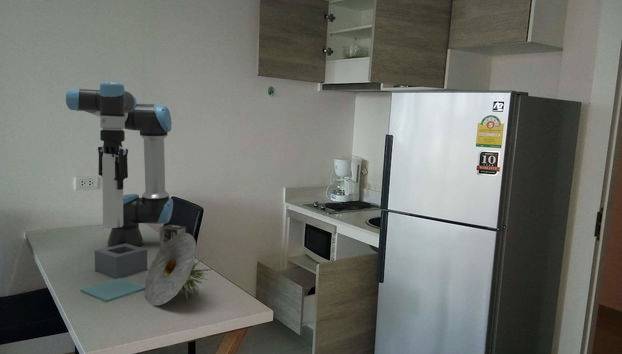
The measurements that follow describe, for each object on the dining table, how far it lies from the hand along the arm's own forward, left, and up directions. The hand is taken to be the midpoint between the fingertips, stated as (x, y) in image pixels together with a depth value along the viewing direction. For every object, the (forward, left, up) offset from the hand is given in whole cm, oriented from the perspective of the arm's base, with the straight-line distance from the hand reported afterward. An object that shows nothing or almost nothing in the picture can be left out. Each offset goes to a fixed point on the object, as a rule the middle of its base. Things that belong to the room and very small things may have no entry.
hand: (113, 197), depth 158 cm
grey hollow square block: (-12, -14, -32) cm, 37 cm away
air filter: (0, 0, -10) cm, 10 cm away
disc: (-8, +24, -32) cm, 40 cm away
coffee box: (-28, -3, -32) cm, 43 cm away
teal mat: (+2, +2, -32) cm, 32 cm away
